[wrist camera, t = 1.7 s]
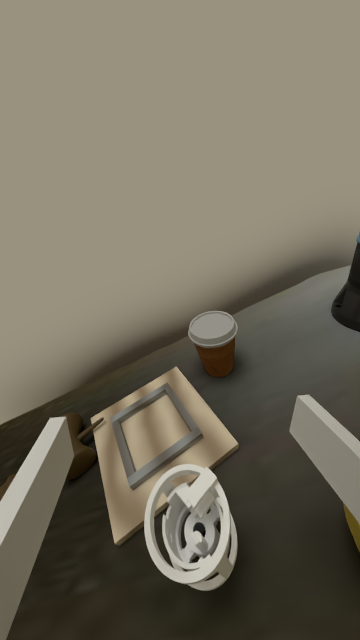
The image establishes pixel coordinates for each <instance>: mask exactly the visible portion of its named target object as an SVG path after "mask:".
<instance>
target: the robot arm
mask: <svg viewBox="0 0 360 640" xmlns="http://www.w3.org/2000/svg"><path fill="white" fill-rule="evenodd" d="M331 312H332V315H333V316H334V318H335V319H336V320H337V321H339V322H340V323H342V324H343V325H345V326H347V327H349V328H352V329H354V330H357V331H360V233H359V235H358V237H357V246H356V250H355V254H354V258H353V262H352V265H351V269H350V273H349V277H348V280H347V282H346V284H345V285H344V287H343V288H342V289H341V291H340V292H339V294H338V295H337V296H336V298H335V299H334V301H333V305H332V309H331ZM289 432H290V433H291V434H292V436H293V437H294V438H295V440H296V441H297V442H298V443H299V445H300V446H301V447H302V449H303V450H304V451H305V453H306V454H307V455H308V457H309V458H310V459H311V461H312V462H313V463H314V464H315V466H316V467H317V468H318V470H319V471H320V472H321V474H322V475H323V476H324V478H325V479H326V480H327V482H328V483H329V484H330V485H331V487H332V488H333V489H334V491H335V492H336V493H337V495H338V496H339V497H340V499H341V500H342V501H343V503H344V504H345V505H346V506H347V508H348V509H349V510H350V512H351V513H352V514H353V516H354V517H355V518H356V520H357V521H358V522H359V524H360V441H359V440H358V439H356V438H355V437H354V436H353V435H352V434H351V433H350V432H349V431H348V430H347V429H346V428H344V427H343V426H342V425H341V424H340V423H339V422H338V421H337V420H336V419H335V418H334V417H333V416H331V415H330V414H329V413H328V412H327V411H326V410H325V409H324V408H323V407H322V406H321V405H319V404H318V403H317V402H316V401H315V400H314V399H313V398H312V397H311V396H310V395H301V396H297V399H296V404H295V408H294V412H293V417H292V421H291V426H290V430H289ZM73 458H74V452H73V447H72V443H71V438H70V433H69V429H68V424H67V419H66V417H57V418H50V419H49V421H48V423H47V424H46V426H45V428H44V429H43V431H42V433H41V434H40V436H39V438H38V439H37V441H36V443H35V444H34V446H33V448H32V449H31V451H30V453H29V454H28V456H27V458H26V459H25V461H24V463H23V464H22V466H21V468H20V469H19V471H18V473H17V474H16V476H15V478H14V479H13V481H12V483H11V484H10V486H9V488H8V489H7V491H6V493H5V495H4V496H3V498H2V500H1V501H0V640H6V638H7V635H8V632H9V630H10V627H11V624H12V622H13V619H14V616H15V613H16V611H17V608H18V605H19V603H20V600H21V597H22V595H23V592H24V589H25V587H26V584H27V581H28V579H29V576H30V573H31V571H32V568H33V565H34V562H35V560H36V557H37V554H38V552H39V549H40V546H41V544H42V541H43V538H44V536H45V533H46V530H47V528H48V525H49V522H50V519H51V517H52V514H53V511H54V509H55V506H56V503H57V501H58V498H59V495H60V493H61V490H62V487H63V485H64V482H65V479H66V476H67V474H68V471H69V468H70V466H71V463H72V460H73Z"/></svg>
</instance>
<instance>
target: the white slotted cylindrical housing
mask: <svg viewBox="0 0 360 640" xmlns="http://www.w3.org/2000/svg"><path fill="white" fill-rule="evenodd" d="M187 474H192V475H197V476H199V477H198V478H197V479H196V481H195V482H194V483H193V484H192V485H191V486H190V485H189V483H188V482H186V483H183V484H181V485H179V486H178V487H176V488H175V486H174V485H173V484H172V482H171V481H173V480H174V479H175V478H177V477H179V476H182V475H187ZM162 492H163V493H164V494H165V495H166V497H167V502H168V503H169V504H170V505H169V507H168V510H167V513H166V516H165V515H164V514H163V521H162V532H163V539H164V543H165V546H166V549H167V551H168V553H169V555H170V559H171V562H172V564H173V567H174V568H172V567H171V566H170V565H169V564H168V563H167V562H166V561H165V560H164V558H163V557H162V555H161V553H160V551H159V549H158V546H157V543H156V539H155V533H154V515H155V510H156V506H157V503H158V500H159V498H160V495H161V494H162ZM218 496H219V497H220V498H219V497H218ZM220 507H221V508H220ZM209 508H210V509H211V511H210V512H209V514H207V511H208V509H209ZM221 509H222V510H223V513H222V510H221ZM189 511H190V512H191V514H190V515H189V517H188V518H187V520H186V523H185V528H184V534H185V540H186V543H187V545H186V547H185V548H184V549H183V548H182V545H181V527H182V523H183V521H184V518H185V516H186V515H187V513H188V512H189ZM218 520H219V521H221V535H220V534H219V532H218V530H217V528H216V525H217V522H218ZM205 530H206V534H205V537H203V536H202V533H203V532H204V531H205ZM144 531H145V539H146V543H147V547H148V550H149V553H150V555H151V558H152V560H153V561H154V563H155V565H156V566H157V567H158V569H159V570H160V571H161V572H162V573H163V574H164V575H165V576H167V577H168V578H170V579H172V580H174V581H176V582H179V583H182V584H188V585H189V586H191V587H193V588H195V589H198V590H202V591H210V590H214V589H216V588H218V587H219V586H221V585H222V584H223V583H224V582H225V581H226V580H227V579H228V577H229V576H230V574H231V572H232V570H233V568H234V565H235V561H236V557H237V548H238V541H237V532H236V527H235V524H234V521H233V518H232V515H231V513H230V510H229V506H228V502H227V499H226V496H225V494H224V491H223V489H222V487H221V486H220V484H219V482H218V480H217V478H216V476H215V475H214V474H213V473H212V471H211V470H210V469H209V468H207V467H206V468H205V469H204V468H202V467H200V466H197V465H194V464H182V465H178V466H176V467H173V468H171V469H170V470H168V471H167V472H166V473H165V474H163V475H162V476H161V478H160V479H159V480H158V481H157V483H156V484H155V486H154V488H153V489H152V491H151V494H150V496H149V499H148V502H147V506H146V511H145V519H144ZM230 535H231V537H232V543H231V551H230V556H229V559H228V558H227V557H228V553H229V547H230ZM197 555H198V557H200V559H199V560H198V562H196V563H192V559H194V558H195V557H196V556H197ZM183 568H184V569H186V570H188V571H189V572H185V570H184V569H183ZM216 573H219V575H218V576H216V577H215V578H213V579H211V580H208V581H204V580H206V579H208V578H209V577H211V576H213V575H215V574H216Z"/></svg>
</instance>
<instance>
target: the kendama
mask: <svg viewBox="0 0 360 640" xmlns="http://www.w3.org/2000/svg"><path fill="white" fill-rule="evenodd" d="M60 417H66V419H67V424H68V429H69V433H70V438H71V443H72V447H73V452H74V458H73V460H72V463H71V466H70V468H69V471H68V474H67V476H66V479H65V480H71V479H75V478H77V477H79V476H81V475H82V474H83V473H85V472H86V471H87V470H88V469H89V468H90V467H91V466H92V465H93V463H94V461H95V460H96V453H95V451H94V450H93V449H92V448H90V447H87V446H85V445H83V444H82V443H81V440H82V439H83V438H84V437H85V436H86V435H88V434H89V433H90V432H91V431H92V430H93V429H94V428H96V427H97V426H98V425H99V424H100V423H101V422H102V421H103V420H104V418H103V417H102V418H100V419H99V420H97V421H96V422H95V423H93V424H92V425H91V426H89V427H88V428H87V429H85V430H84V431H83V432H81V433H80V430H81V428H82V425H83V419H82V418H81V416H80V415H79V414H77V413H67V414H64V415H62V416H60ZM79 433H80V434H79ZM15 476H16V474H12V475H10V476H9V477H8V479H7V481H6V482H5V484H3V485H2V486H1V487H0V501H1V500H2V498H3V496H4V495H5V493H6V491H7V489H8V488H9V486H10V484H11V483H12V481H13V479H14V478H15Z"/></svg>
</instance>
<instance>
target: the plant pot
mask: <svg viewBox="0 0 360 640" xmlns="http://www.w3.org/2000/svg"><path fill="white" fill-rule="evenodd" d="M343 504H344V503H343ZM344 511H345V516H346V519H347V523H348V525H349V528H350V531H351V533H352V535H353V538H354V541H355V543H356V546H357V548H358V550H359V552H360V524H359V522H358V521H357V520H356V518H355V517H354V516H353V514H352V513H351V512H350V510H349V509H348V508H347V506H346V505H345V504H344Z"/></svg>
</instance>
